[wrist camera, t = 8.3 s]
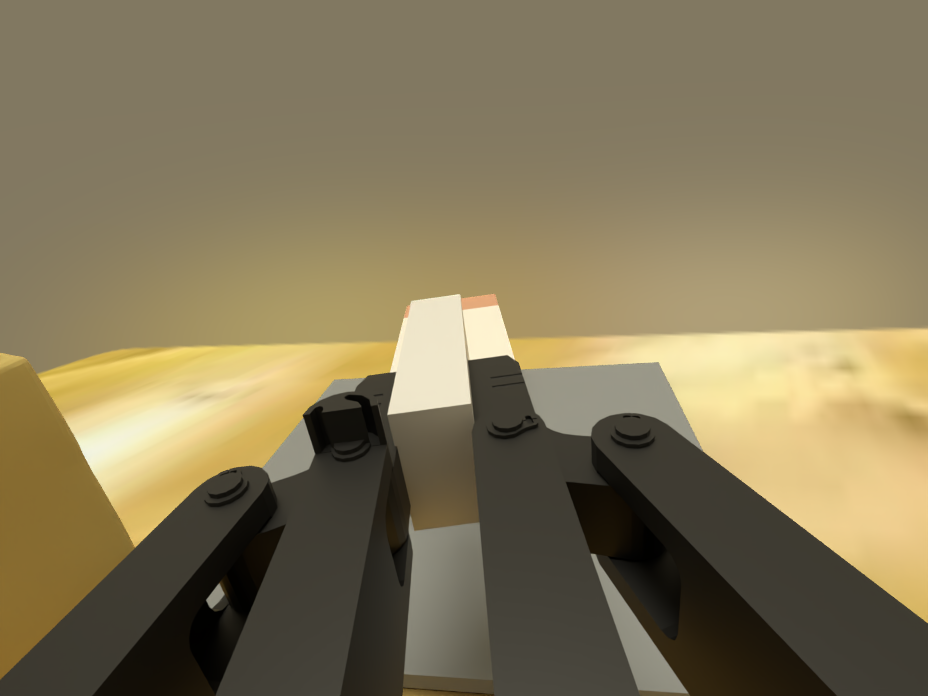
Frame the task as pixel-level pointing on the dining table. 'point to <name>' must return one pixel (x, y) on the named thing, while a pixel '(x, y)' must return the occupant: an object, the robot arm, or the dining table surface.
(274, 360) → the dining table surface
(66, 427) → the cheese
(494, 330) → the tall block
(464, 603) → the slate mat
